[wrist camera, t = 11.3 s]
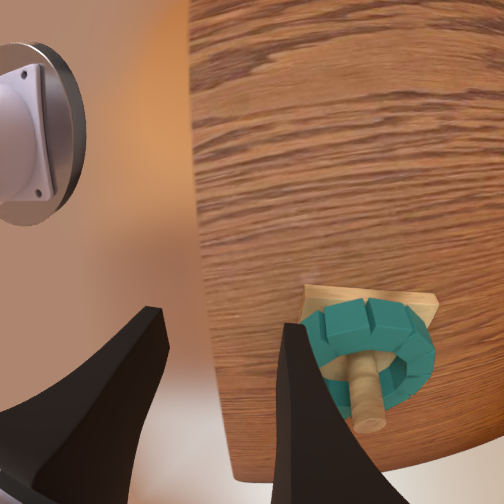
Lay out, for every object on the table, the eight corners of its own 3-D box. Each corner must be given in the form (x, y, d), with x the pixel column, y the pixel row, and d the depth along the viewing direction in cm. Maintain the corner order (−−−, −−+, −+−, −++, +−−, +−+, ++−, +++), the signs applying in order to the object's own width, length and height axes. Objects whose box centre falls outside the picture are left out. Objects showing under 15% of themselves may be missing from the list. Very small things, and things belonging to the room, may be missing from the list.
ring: (267, 386, 23) (265, 411, 21) (303, 285, 17) (304, 314, 15) (385, 397, 23) (389, 420, 21) (450, 309, 17) (463, 335, 15)
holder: (287, 371, 24) (282, 453, 18) (304, 283, 19) (307, 383, 13) (391, 374, 23) (405, 449, 17) (434, 292, 18) (471, 378, 12)
